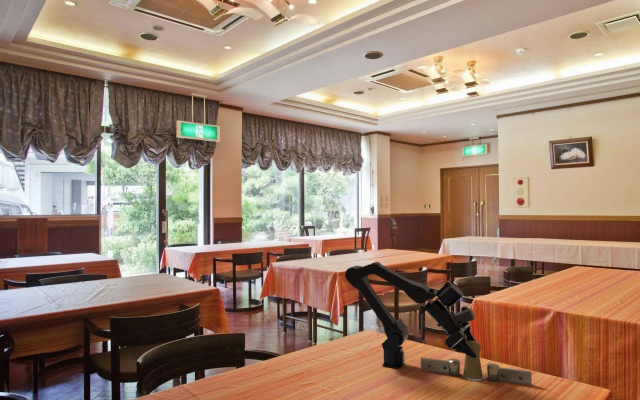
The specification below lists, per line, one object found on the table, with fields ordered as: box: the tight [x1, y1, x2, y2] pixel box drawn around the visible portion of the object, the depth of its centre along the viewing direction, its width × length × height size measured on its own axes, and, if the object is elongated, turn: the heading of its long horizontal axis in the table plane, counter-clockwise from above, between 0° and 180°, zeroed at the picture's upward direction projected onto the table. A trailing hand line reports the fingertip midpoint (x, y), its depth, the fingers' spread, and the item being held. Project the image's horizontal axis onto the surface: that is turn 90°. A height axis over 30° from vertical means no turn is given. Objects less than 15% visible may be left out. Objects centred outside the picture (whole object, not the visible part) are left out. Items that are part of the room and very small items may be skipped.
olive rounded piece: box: [462, 341, 483, 379], centre depth 136 cm, size 6×6×11 cm
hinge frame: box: [420, 357, 533, 387], centre depth 136 cm, size 34×7×4 cm, turn 66°
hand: (477, 352), depth 135 cm, fingers open, 9 cm apart
